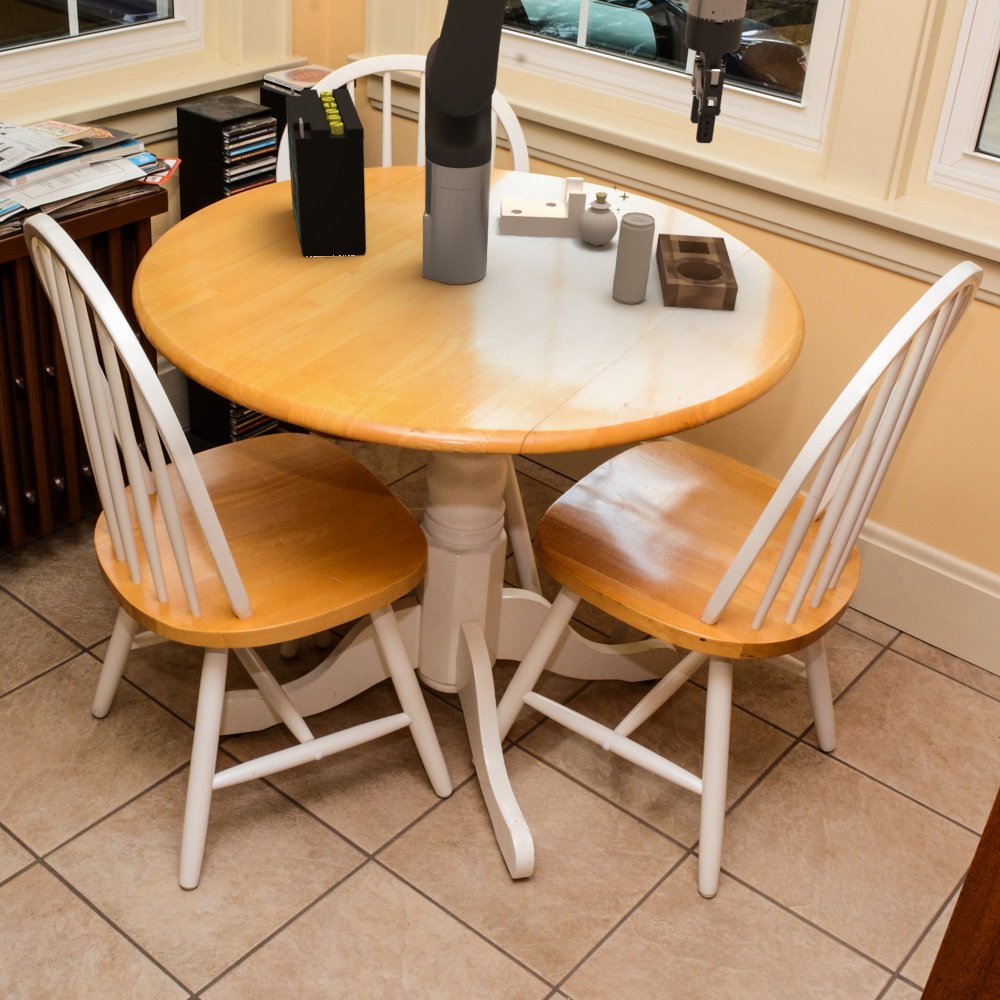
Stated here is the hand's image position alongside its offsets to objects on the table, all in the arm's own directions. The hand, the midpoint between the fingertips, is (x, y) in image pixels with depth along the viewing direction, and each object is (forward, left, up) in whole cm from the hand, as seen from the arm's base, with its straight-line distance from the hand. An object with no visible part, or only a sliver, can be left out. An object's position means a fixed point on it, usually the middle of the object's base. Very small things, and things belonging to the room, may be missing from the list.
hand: (700, 132), depth 159 cm
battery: (-55, +6, -21) cm, 59 cm away
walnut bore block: (+2, -4, -21) cm, 21 cm away
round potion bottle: (-12, +8, -21) cm, 25 cm away
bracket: (-22, +13, -21) cm, 33 cm away
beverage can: (-8, -11, -21) cm, 25 cm away
